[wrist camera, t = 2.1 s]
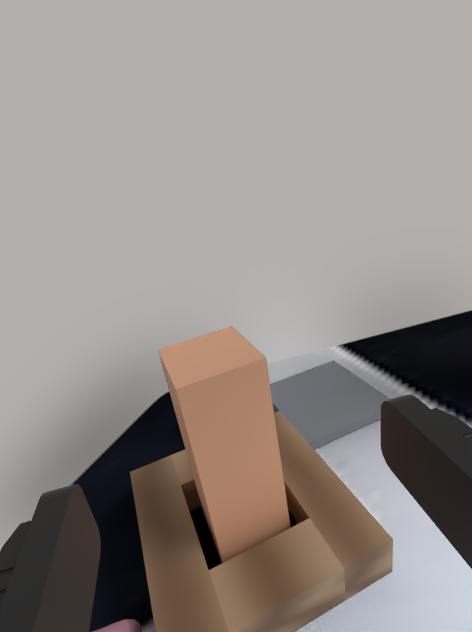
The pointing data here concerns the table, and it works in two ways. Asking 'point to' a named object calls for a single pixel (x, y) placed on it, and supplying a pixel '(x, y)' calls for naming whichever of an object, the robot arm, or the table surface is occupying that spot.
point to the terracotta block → (229, 437)
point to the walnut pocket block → (257, 549)
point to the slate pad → (326, 403)
